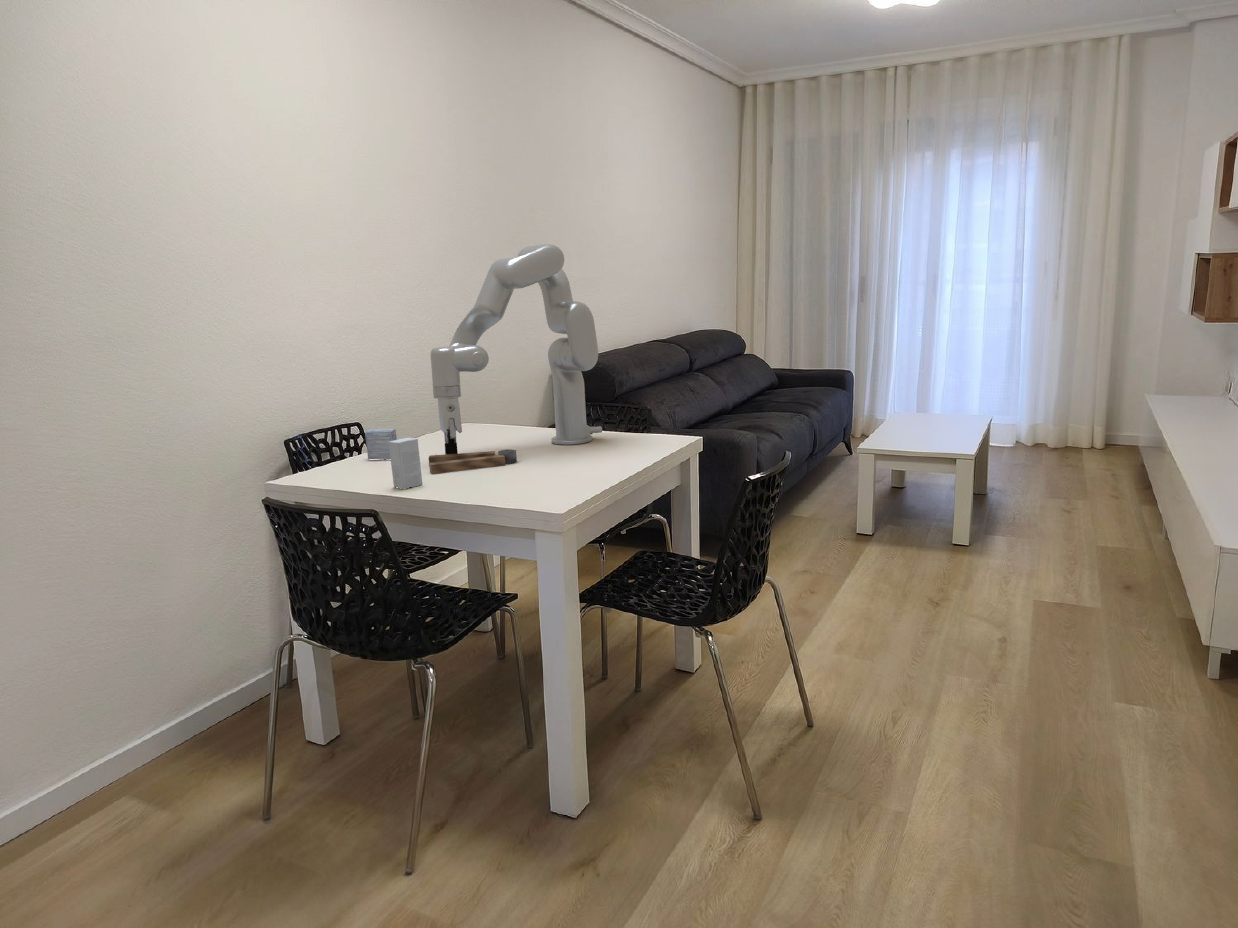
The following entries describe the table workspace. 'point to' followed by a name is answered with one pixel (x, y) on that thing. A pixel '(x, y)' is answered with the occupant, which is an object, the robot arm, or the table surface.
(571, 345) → the robot arm
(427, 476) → the table surface
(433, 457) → the bar
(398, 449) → the skincare box
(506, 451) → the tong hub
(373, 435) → the medicine box
